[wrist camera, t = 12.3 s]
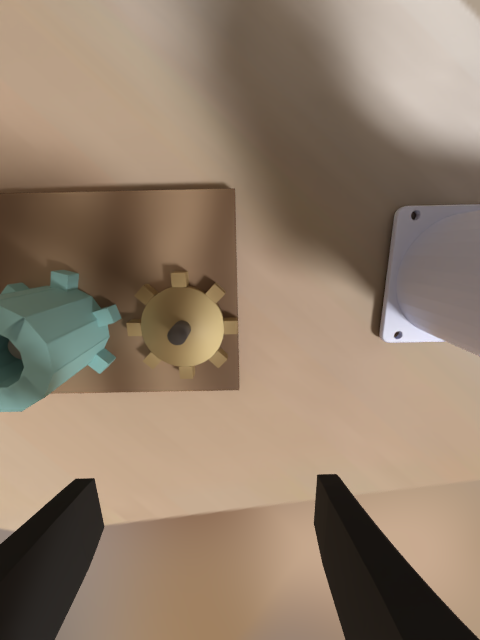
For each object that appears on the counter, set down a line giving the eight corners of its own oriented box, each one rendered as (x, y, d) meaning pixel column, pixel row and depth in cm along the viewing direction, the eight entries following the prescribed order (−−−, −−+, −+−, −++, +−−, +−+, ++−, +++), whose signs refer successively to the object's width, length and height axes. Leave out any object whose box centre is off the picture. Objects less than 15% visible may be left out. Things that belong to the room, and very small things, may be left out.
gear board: (235, 191, 15) (233, 168, 10) (239, 384, 18) (239, 424, 14) (-13, 196, 15) (-113, 176, 11) (34, 387, 18) (-28, 429, 14)
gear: (114, 268, 15) (55, 277, 10) (129, 376, 17) (85, 427, 12) (-4, 271, 15) (-119, 281, 10) (24, 378, 17) (-63, 430, 12)
